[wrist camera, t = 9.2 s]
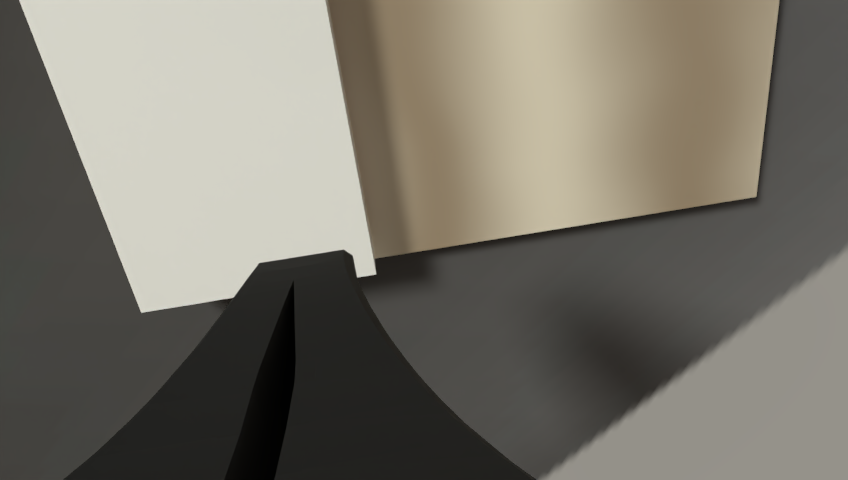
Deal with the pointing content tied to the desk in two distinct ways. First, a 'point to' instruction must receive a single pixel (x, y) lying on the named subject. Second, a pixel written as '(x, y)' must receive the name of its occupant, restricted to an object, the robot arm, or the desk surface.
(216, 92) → the tile
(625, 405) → the desk surface
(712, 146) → the board
